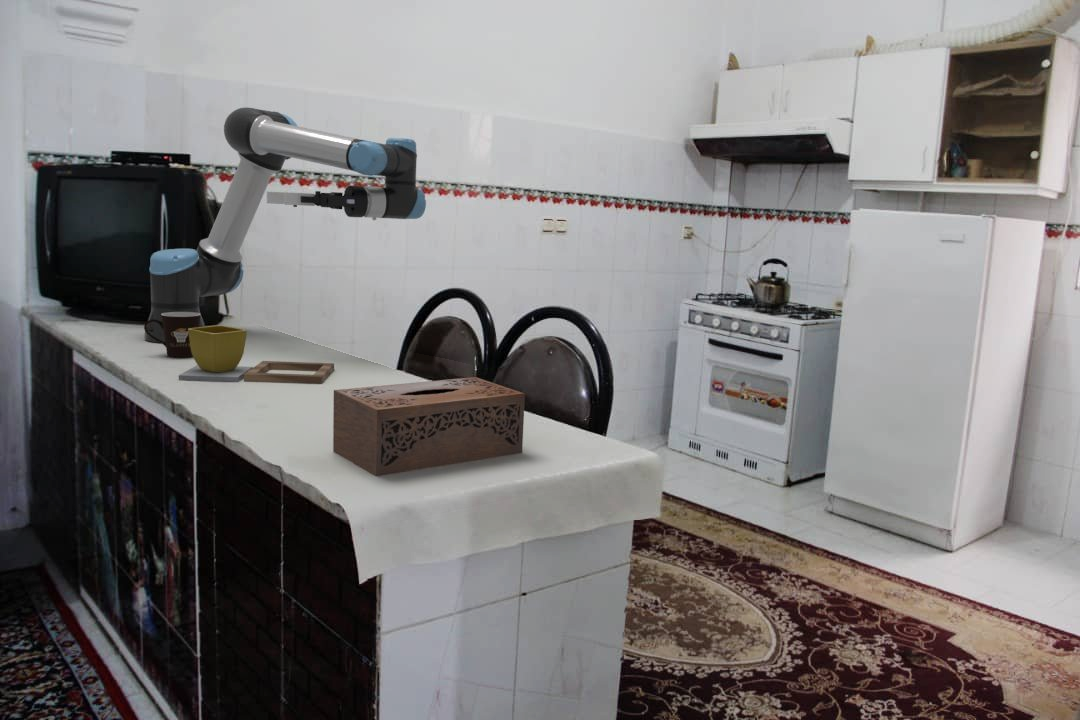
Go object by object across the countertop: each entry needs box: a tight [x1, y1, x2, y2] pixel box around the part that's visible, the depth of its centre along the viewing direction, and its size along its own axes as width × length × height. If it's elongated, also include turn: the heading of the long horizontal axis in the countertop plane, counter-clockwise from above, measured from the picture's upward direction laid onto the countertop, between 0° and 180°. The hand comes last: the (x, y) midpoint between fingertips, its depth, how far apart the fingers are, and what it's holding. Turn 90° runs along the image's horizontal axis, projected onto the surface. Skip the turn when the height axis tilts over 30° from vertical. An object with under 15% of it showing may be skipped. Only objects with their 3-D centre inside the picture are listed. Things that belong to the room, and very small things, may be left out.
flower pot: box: [188, 324, 248, 373], centre depth 190 cm, size 9×9×9 cm
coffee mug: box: [143, 312, 202, 359], centre depth 210 cm, size 12×9×10 cm
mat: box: [178, 364, 254, 383], centre depth 190 cm, size 12×12×1 cm
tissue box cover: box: [332, 376, 526, 477], centre depth 139 cm, size 26×14×10 cm, turn 127°
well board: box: [243, 360, 335, 385], centre depth 194 cm, size 16×16×2 cm
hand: (275, 197), depth 203 cm, fingers open, 13 cm apart
